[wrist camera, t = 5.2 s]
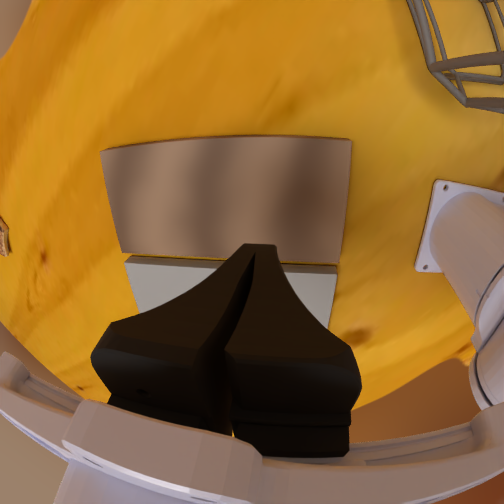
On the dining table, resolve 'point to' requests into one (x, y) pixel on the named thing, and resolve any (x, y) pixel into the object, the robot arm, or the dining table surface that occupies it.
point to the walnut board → (230, 195)
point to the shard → (3, 239)
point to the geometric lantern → (459, 59)
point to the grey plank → (194, 271)
